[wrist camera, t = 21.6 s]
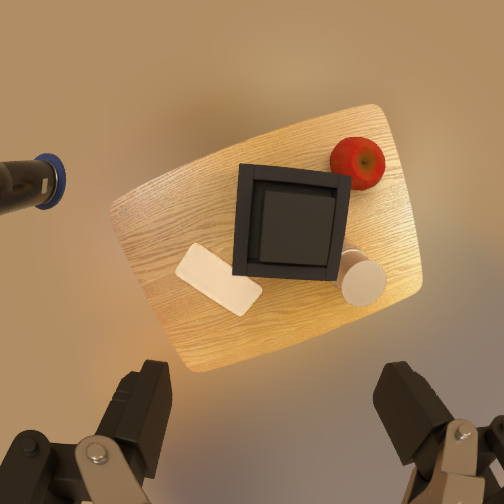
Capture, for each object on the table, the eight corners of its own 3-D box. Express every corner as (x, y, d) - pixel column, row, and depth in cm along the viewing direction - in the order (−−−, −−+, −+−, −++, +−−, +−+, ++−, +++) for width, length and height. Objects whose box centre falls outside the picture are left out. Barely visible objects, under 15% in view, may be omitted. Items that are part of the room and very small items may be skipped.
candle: (330, 277, 51) (359, 316, 36) (307, 252, 49) (331, 285, 35) (357, 252, 50) (395, 283, 35) (334, 226, 48) (369, 249, 34)
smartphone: (194, 241, 47) (264, 289, 50) (195, 240, 48) (264, 287, 51) (173, 273, 49) (241, 318, 52) (174, 272, 50) (241, 316, 52)
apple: (355, 134, 44) (383, 126, 33) (372, 178, 46) (402, 182, 35) (313, 149, 44) (332, 143, 34) (330, 195, 47) (354, 202, 36)
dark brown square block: (257, 250, 23) (259, 261, 20) (262, 188, 22) (265, 191, 19) (316, 254, 23) (326, 265, 20) (324, 194, 22) (335, 198, 19)
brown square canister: (238, 218, 47) (231, 275, 22) (242, 168, 45) (239, 163, 20) (289, 222, 48) (337, 281, 22) (293, 172, 45) (352, 176, 20)
